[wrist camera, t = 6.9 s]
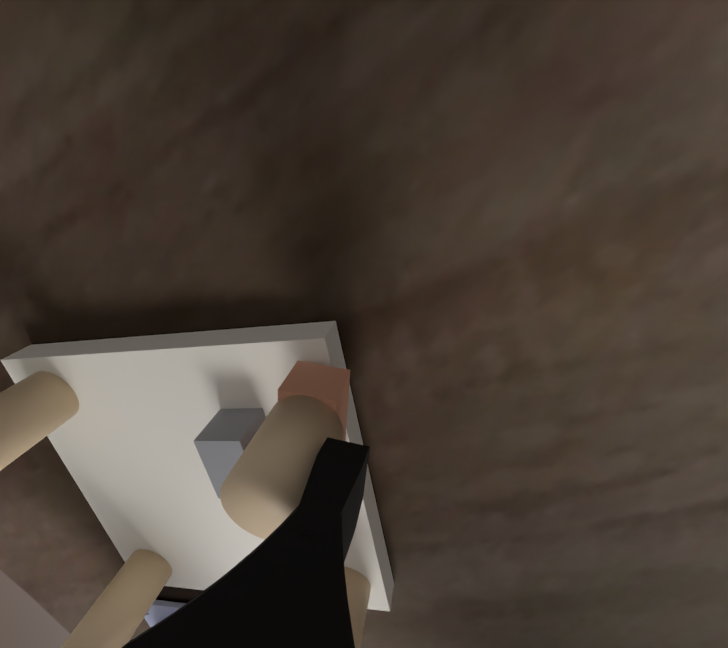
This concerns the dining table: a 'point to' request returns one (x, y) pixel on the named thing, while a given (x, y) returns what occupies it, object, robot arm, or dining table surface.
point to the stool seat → (173, 455)
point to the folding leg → (286, 447)
